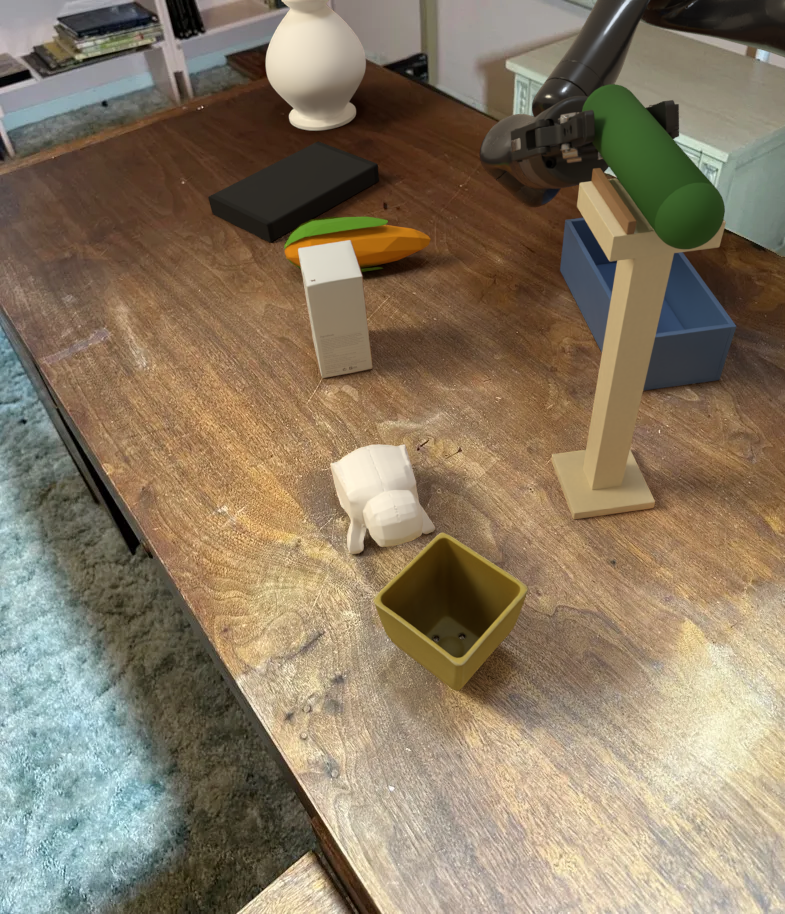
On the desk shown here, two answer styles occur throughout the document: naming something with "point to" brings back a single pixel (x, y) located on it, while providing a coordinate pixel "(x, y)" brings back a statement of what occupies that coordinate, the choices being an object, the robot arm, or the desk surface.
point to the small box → (336, 307)
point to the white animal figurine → (380, 496)
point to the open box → (681, 319)
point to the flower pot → (450, 609)
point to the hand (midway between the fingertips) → (629, 120)
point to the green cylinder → (654, 170)
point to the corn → (358, 239)
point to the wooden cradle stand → (619, 353)
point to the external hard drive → (293, 190)
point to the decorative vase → (315, 65)
